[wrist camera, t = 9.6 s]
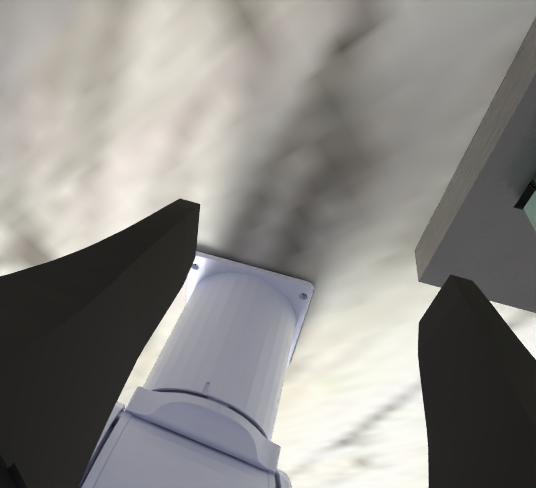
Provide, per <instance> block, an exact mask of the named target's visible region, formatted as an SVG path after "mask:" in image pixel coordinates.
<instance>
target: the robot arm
mask: <svg viewBox="0 0 536 488" xmlns="http://www.w3.org/2000/svg"><path fill="white" fill-rule="evenodd" d="M199 212H200V204H198V203H194V202H190V201H187V200H183V199H178V200H176V201H175V202H173V203H171V204H169V205H167V206H166V207H164V208H162V209H160V210H159V211H157V212H155V213H153V214H152V215H150V216H148V217H146V218H145V219H143V220H141V221H139V222H137V223H136V224H134V225H132V226H130V227H128V228H126V229H124V230H123V231H120V232H118V233H116V234H114V235H112V236H110V237H108V238H106V239H104V240H102V241H100V242H98V243H96V244H93V245H91V246H89V247H87V248H84V249H82V250H79V251H77V252H74V253H72V254H69V255H66V256H64V257H61V258H58V259H56V260H53V261H50V262H47V263H44V264H41V265H37V266H34V267H31V268H28V269H24V270H21V271H18V272H15V273H11V274H8V275H4V276H0V488H292V486H291V482H290V479H289V477H288V475H287V474H286V473H285V472H283V471H282V470H279V469H277V464H278V459H279V453H280V448H281V447H280V446H279V445H277V444H275V443H273V442H271V438H272V433H273V428H274V424H275V419H276V414H277V410H278V405H279V400H280V396H281V391H282V386H283V382H284V377H285V373H286V371H287V369H288V366H289V363H290V360H291V357H292V354H293V351H294V348H295V345H296V342H297V339H298V336H299V333H300V330H301V327H302V324H303V321H304V318H305V315H306V312H307V309H308V306H309V303H310V300H311V297H312V294H313V290H314V286H313V284H311V283H310V282H308V281H304V280H301V279H297V278H293V277H290V276H286V275H282V274H279V273H275V272H271V271H268V270H264V269H260V268H257V267H253V266H249V265H246V264H242V263H238V262H235V261H231V260H227V259H224V258H220V257H216V256H213V255H209V254H205V253H202V252H198V251H196V246H197V235H198V223H199ZM195 264H197V265H198V266H196V265H195ZM186 278H187V290H186V306H185V308H184V310H183V311H182V313H181V315H180V317H179V319H178V321H177V323H176V325H175V327H174V329H173V330H172V332H171V334H170V336H169V338H168V340H167V342H166V344H165V346H164V348H163V349H162V351H161V353H160V355H159V357H158V359H157V361H156V363H155V365H154V367H153V368H152V370H151V372H150V374H149V376H148V378H147V380H146V382H145V384H144V386H143V387H137V389H136V391H135V393H134V394H133V396H132V398H131V400H130V402H129V404H128V406H127V407H126V409H125V405H124V404H122V403H119V402H117V400H118V398H119V396H120V394H121V392H122V389H123V387H124V385H125V383H126V381H127V379H128V377H129V375H130V373H131V371H132V369H133V367H134V365H135V363H136V361H137V359H138V357H139V356H140V354H141V352H142V350H143V349H144V347H145V345H146V344H147V342H148V340H149V339H150V337H151V336H152V334H153V332H154V331H155V329H156V328H157V326H158V325H159V323H160V321H161V320H162V318H163V317H164V315H165V313H166V312H167V310H168V309H169V307H170V306H171V304H172V302H173V301H174V299H175V297H176V296H177V294H178V293H179V291H180V289H181V288H182V286H183V284H184V282H185V280H186ZM302 293H303V294H306V295H302ZM418 359H419V369H420V377H421V386H422V394H423V402H424V410H425V419H426V427H427V438H428V463H429V488H536V360H535V358H534V357H533V356H532V355H531V354H530V352H529V351H528V350H527V349H526V348H525V346H524V345H523V344H522V343H521V341H520V340H519V339H518V338H517V336H516V335H515V334H514V332H513V331H512V330H511V329H510V327H509V326H508V325H507V323H506V322H505V321H504V320H503V318H502V317H501V316H500V314H499V313H498V312H497V310H496V309H495V308H494V307H493V305H492V304H491V303H490V301H489V300H488V299H487V297H486V296H485V295H484V294H483V292H482V291H481V290H480V289H479V287H478V286H477V285H476V284H475V283H474V282H473V281H472V280H469V279H465V278H462V277H458V276H454V275H451V274H450V276H449V277H448V279H447V280H446V282H445V283H444V285H443V286H442V288H441V289H440V291H439V293H438V294H437V296H436V297H435V299H434V300H433V302H432V303H431V305H430V306H429V308H428V309H427V311H426V312H425V314H424V316H423V317H422V319H421V320H420V322H419V334H418ZM124 410H125V411H124Z"/></svg>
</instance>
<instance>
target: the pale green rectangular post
mask: <svg viewBox="0 0 536 488" xmlns="http://www.w3.org/2000/svg"><path fill="white" fill-rule="evenodd" d="M532 180H533V181H534V183H535V184H536V174H535V176H534V177H533V179H532ZM523 209H524V211H525V213H526V214H527V216H528V218H529V220H530V222H531V224H532V225H533V227H534V229H535V231H536V191H535V192H534V194H533V195H532V197H531V198H530V199H529V201H528V202H527V204H526V205H525V207H524V208H523Z"/></svg>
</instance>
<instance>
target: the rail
mask: <svg viewBox="0 0 536 488" xmlns="http://www.w3.org/2000/svg"><path fill="white" fill-rule="evenodd" d="M535 174H536V19H535V21H534V22H533V24H532V26H531V28H530V30H529V32H528V34H527V36H526V38H525V40H524V42H523V44H522V46H521V47H520V49H519V51H518V53H517V55H516V57H515V59H514V61H513V63H512V65H511V67H510V69H509V71H508V72H507V74H506V76H505V78H504V80H503V82H502V84H501V86H500V88H499V90H498V92H497V94H496V95H495V97H494V99H493V101H492V103H491V105H490V107H489V109H488V111H487V113H486V115H485V117H484V119H483V120H482V122H481V124H480V126H479V128H478V130H477V132H476V134H475V136H474V138H473V140H472V142H471V144H470V145H469V147H468V149H467V151H466V153H465V155H464V157H463V159H462V161H461V163H460V165H459V167H458V169H457V170H456V172H455V174H454V176H453V178H452V180H451V182H450V184H449V186H448V188H447V190H446V192H445V193H444V195H443V197H442V199H441V201H440V203H439V205H438V207H437V209H436V211H435V213H434V215H433V217H432V218H431V220H430V222H429V224H428V226H427V228H426V230H425V232H424V234H423V236H422V238H421V240H420V242H419V243H418V245H417V247H416V249H415V257H416V265H417V273H418V281H419V282H422V283H426V284H430V285H433V286H437V287H441V288H442V286H443V285H444V283H445V282H446V280H447V279H448V277H449V276H450V274H451V275H454V276H458V277H462V278H465V279H469V280H472V281H473V282H474V283H475V284H476V285H477V286H478V287H479V289H480V290H481V291H482V292H483V294H484V295H485V296H486V297H487V299H488V300H489V301H493V302H497V303H501V304H504V305H508V306H512V307H516V308H519V309H523V310H527V311H531V312H534V313H536V231H535V229H534V227H533V225H532V224H531V222H530V220H529V218H528V216H527V214H526V213H525V211H524V209H523V208H524V207H525V205H526V204H527V202H528V201H529V199H530V198H531V197H532V195H533V194H534V192H535V191H536V188H533V187H529V186H528V185H529V183H530V182H531V180H532V179H533V177H534V176H535Z"/></svg>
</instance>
